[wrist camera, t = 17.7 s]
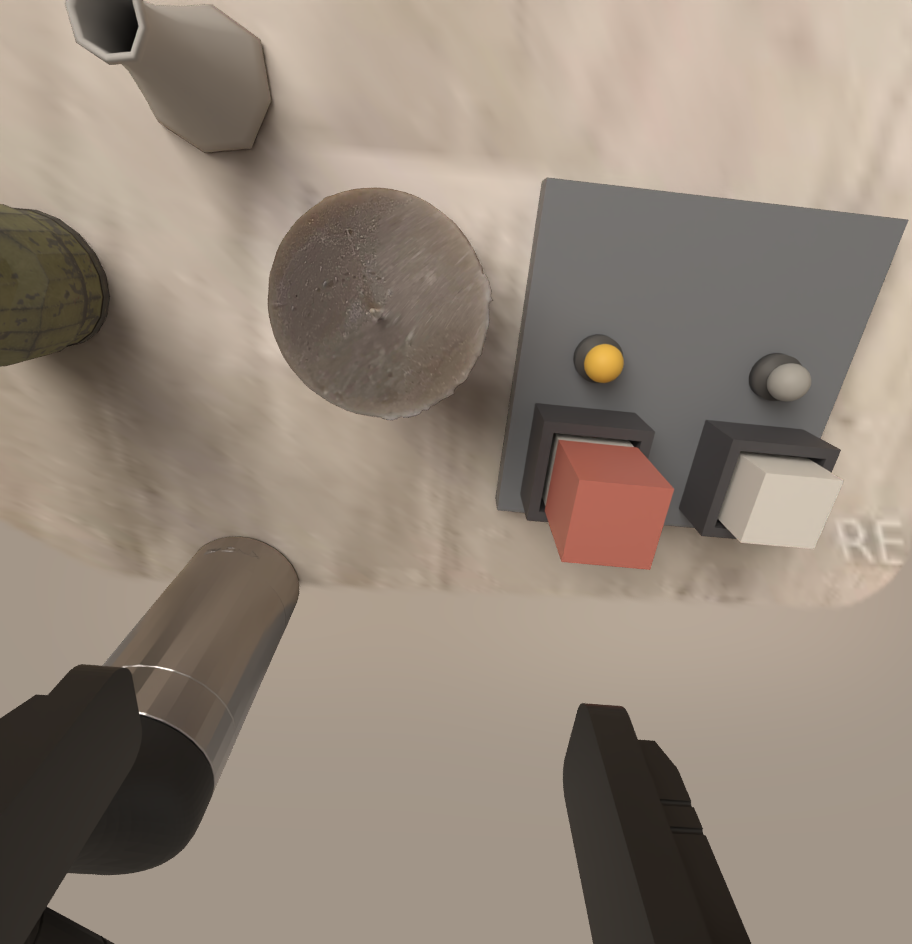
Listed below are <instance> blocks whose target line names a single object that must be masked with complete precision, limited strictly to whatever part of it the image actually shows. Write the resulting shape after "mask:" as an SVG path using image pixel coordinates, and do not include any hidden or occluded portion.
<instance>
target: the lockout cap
mask: <svg viewBox="0 0 912 944" xmlns="http://www.w3.org/2000/svg"><path fill="white" fill-rule="evenodd" d="M673 492H674V488H673V487H672V486H671V485H670V484H669V482H668V481H667V480H666V479H665V478H664V477H663V476H662V475H661V473H660V472H659V471H658V470H657V469H656V468H655V467H654V466H653V464H652V463H651V462H650V461H649V460H648V459H647V458H646V456H645V455H644V454H643V453H642V452H641V451H640V450H639V449H638V448H637V447H627V446H617V445H607V444H597V443H587V442H576V441H566V440H558V445H557V450H556V455H555V460H554V466H553V471H552V476H551V481H550V486H549V491H548V496H547V502H546V507H545V513H546V516H547V519H548V522H549V525H550V528H551V531H552V534H553V537H554V540H555V543H556V546H557V549H558V552H559V555H560V559H561V562H570V563H581V564H592V565H604V566H615V567H626V568H637V569H649V570H650V568H651V565H652V562H653V558H654V555H655V552H656V548H657V545H658V542H659V538H660V535H661V532H662V528H663V525H664V522H665V518H666V515H667V512H668V508H669V505H670V502H671V498H672V495H673Z"/></svg>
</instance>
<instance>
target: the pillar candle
mask: <svg viewBox="0 0 912 944" xmlns="http://www.w3.org/2000/svg"><path fill="white" fill-rule="evenodd" d="M491 292H492V290H491V287H490V283H489V280H488V278H487V277H486V275H484V273H483V268H482V266H481V265H480V263H479V260H478V258H477V256H476V253H475V251H474V250H473V248H472V246H471V245H470V243H469V241H468V240H467V238H466V237H465V235H464V234H463V233H462V231H461V230H460V229H459V228H458V226H457V225H456V224H455V223H454V222H453V221H452V220H451V219H449V218H448V217H447V216H446V215H445V214H443V213H442V212H441V211H440V210H438V209H437V208H435V207H434V206H432V205H431V204H430V203H428V202H426V201H424V200H422V199H421V198H419V197H416V196H414V195H412V194H408V193H405V192H402V191H398V190H393V189H387V188H361V189H353V190H349V191H344V192H341V193H338V194H335V195H332V196H329V197H326V198H324V199H323V200H322V201H321V202H319V203H318V204H317V205H315V206H314V207H312V208H311V209H310V210H309V211H308V212H306V213H305V214H304V215H302V216H301V217H300V218H299V219H298V220H297V221H296V222H295V224H294V225H293V226H292V227H291V229H290V230H289V232H288V233H287V234H286V236H285V237H284V239H283V240H282V242H281V244H280V246H279V248H278V250H277V253H276V256H275V259H274V262H273V266H272V269H271V271H270V277H269V293H268V312H269V318H270V323H271V326H272V330H273V334H274V337H275V339H276V342H277V344H278V346H279V349H280V351H281V353H282V355H283V356H284V358H285V360H286V361H287V363H288V364H289V366H290V367H291V369H292V370H293V371H294V372H295V373H296V375H297V376H298V377H299V378H300V379H301V380H302V381H303V383H304V384H305V385H306V386H307V387H309V388H310V389H311V390H312V391H314V392H315V393H316V394H318V395H320V396H321V397H322V398H324V399H326V400H327V401H328V402H330V403H332V404H334V405H336V406H338V407H341V408H343V409H345V410H347V411H350V412H354V413H356V414H361V415H367V416H374V417H381V418H383V419H386V420H395V419H397V418H399V417H403V418H404V417H408V418H409V417H411V416H416V415H418V414H420V413H421V411H423V410H429V408H430V407H431V406H433V405H435V404H436V403H438V402H440V401H441V400H443V399H444V398H447V397H449V396H450V395H453V394H454V389H455V388H456V387H458V385H460V384H462V383H463V382H464V381H465V380H466V379H467V378H468V375H469V373H470V371H471V370H472V368H473V367H474V365H475V363H476V361H477V359H478V357H479V356H481V354H482V349H483V345H484V342H485V340H486V334H487V330H488V327H489V303H490V302H491V301H493V300H492V298H491Z"/></svg>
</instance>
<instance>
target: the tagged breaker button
mask: <svg viewBox="0 0 912 944" xmlns="http://www.w3.org/2000/svg"><path fill="white" fill-rule="evenodd" d="M558 440H566V441H576V442H587V443H597V444H607V445H617V446H627V447H634V446H633V445H632V444H631V443H630V442H629V441H628V440H622V439H612V438H602V437H591V436H581V435H570V434H560V433H553V439H552V444H551V449H550V455H549V460H548V466H547V471H546V476H545V482H544V487H543V493H542V498H543V500H544V503H545V506H546V502H547V496H548V491H549V486H550V481H551V476H552V471H553V466H554V460H555V455H556V450H557V445H558Z"/></svg>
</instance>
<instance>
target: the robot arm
mask: <svg viewBox="0 0 912 944" xmlns="http://www.w3.org/2000/svg"><path fill="white" fill-rule="evenodd" d="M298 596H299V582H298V578H297V575H296V573H295V571H294V569H293V567H292V565H291V564H290V563H289V562H288V560H287V559H286V558H285V557H284V556H283V555H282V554H281V553H279V552H278V551H277V550H276V549H274V548H273V547H271V546H269V545H267V544H265V543H263V542H260V541H257V540H255V539H251V538H245V537H226V538H221V539H217V540H214V541H212V542H210V543H208V544H206V545H205V546H203V547H202V548H201V549H199V551H198V552H197V553H196V554H195V555H194V557H193V558H192V559H191V560H190V561H189V563H188V564H187V565H186V566H185V567H184V569H183V570H182V571H181V572H180V573H179V574H178V576H177V577H176V578H175V579H174V580H173V581H172V582H171V584H170V585H169V586H168V587H167V589H166V590H165V591H164V592H163V593H162V594H161V596H160V597H159V598H158V600H156V602H155V603H154V604H153V605H152V606H151V608H150V609H149V610H148V611H147V613H146V614H145V615H144V616H143V617H142V619H141V620H140V621H139V622H138V624H137V625H136V626H135V627H134V628H133V629H132V631H131V632H130V633H129V634H128V635H127V637H126V638H125V639H124V640H123V641H122V643H121V644H120V645H119V646H118V648H117V649H116V650H115V651H114V652H113V653H112V655H111V656H110V657H109V658H108V659H107V661H106V662H105V663H104V664H103V665H102V666H98V665H83V664H81V665H78V666H76V667H74V668H73V669H71V670H70V671H69V672H68V673H67V674H66V676H65V677H64V678H63V679H62V680H61V681H60V682H59V683H58V684H57V686H56V687H55V688H54V689H53V690H52V691H51V692H50V693H49V695H35V696H33V697H32V698H30V699H29V700H27V701H26V702H24V703H23V704H22V705H20V706H18V707H17V708H16V709H14V710H12V711H11V712H9V713H8V714H6V715H5V716H3V717H2V718H0V944H114V943H112V942H110V941H109V940H107V939H105V938H103V937H102V936H100V935H98V934H96V933H94V932H92V931H90V930H89V929H87V928H85V927H83V926H81V925H79V924H77V923H76V922H74V921H72V920H70V919H68V918H66V917H65V916H63V915H61V914H59V913H57V912H55V911H54V910H52V909H50V908H48V907H47V905H48V903H49V902H50V900H51V898H52V896H53V895H54V894H55V892H56V890H57V889H58V887H59V885H60V884H61V882H62V880H63V879H64V877H65V875H66V874H67V873H77V874H97V875H119V874H129V873H135V872H140V871H144V870H147V869H151V868H154V867H156V866H159V865H161V864H163V863H165V862H167V861H168V860H170V859H172V858H173V857H175V856H176V855H177V854H178V853H179V852H180V851H182V849H184V848H185V846H186V845H187V844H188V843H189V841H190V840H191V838H192V837H193V836H194V834H195V832H196V830H197V828H198V826H199V824H200V822H201V820H202V817H203V816H204V813H205V811H206V809H207V806H208V804H209V802H210V799H211V797H212V794H213V792H214V790H215V787H216V785H217V783H218V780H219V778H220V776H221V774H222V771H223V769H224V767H225V765H226V762H227V760H228V758H229V756H230V753H231V750H232V748H233V746H234V744H235V741H236V739H237V737H238V735H239V732H240V730H241V728H242V725H243V723H244V721H245V719H246V716H247V714H248V712H249V709H250V707H251V705H252V703H253V700H254V698H255V696H256V693H257V691H258V689H259V687H260V684H261V682H262V680H263V678H264V675H265V673H266V671H267V669H268V666H269V664H270V662H271V659H272V657H273V655H274V653H275V650H276V648H277V646H278V644H279V641H280V639H281V637H282V635H283V633H284V630H285V628H286V626H287V624H288V621H289V619H290V617H291V614H292V612H293V610H294V608H295V605H296V603H297V600H298ZM563 788H564V797H565V802H566V808H567V812H568V817H569V822H570V828H571V833H572V838H573V843H574V848H575V853H576V858H577V863H578V868H579V873H580V879H581V883H582V889H583V893H584V899H585V904H586V908H587V914H588V919H589V924H590V929H591V935H592V940H593V944H751V942H750V939H749V937H748V935H747V932H746V930H745V928H744V925H743V923H742V920H741V918H740V916H739V913H738V911H737V909H736V906H735V904H734V901H733V899H732V897H731V894H730V892H729V890H728V887H727V885H726V882H725V880H724V878H723V875H722V873H721V871H720V868H719V866H718V864H717V861H716V859H715V856H714V854H713V852H712V849H711V847H710V845H709V842H708V840H707V837H706V836H705V835H703V832H702V829H703V828H702V826H701V823H700V821H699V819H698V816H697V814H696V812H695V809H694V807H692V806H691V800H690V797H689V795H688V792H687V791H686V788H685V786H684V783H683V781H682V778H681V776H680V773H679V771H678V769H677V768H676V766H675V765H674V764H673V763H672V761H671V760H670V759H669V758H668V757H667V755H666V754H665V753H664V752H663V751H662V749H661V748H660V747H659V746H658V744H657V743H656V742H655V741H649V740H638V739H637V737H636V734H635V731H634V728H633V725H632V723H631V720H630V717H629V715H628V713H627V711H626V709H625V708H624V707H622V706H612V705H598V704H585V703H582V704H580V706H579V708H578V710H577V714H576V718H575V722H574V726H573V730H572V733H571V737H570V741H569V745H568V748H567V752H566V756H565V760H564V767H563Z"/></svg>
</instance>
